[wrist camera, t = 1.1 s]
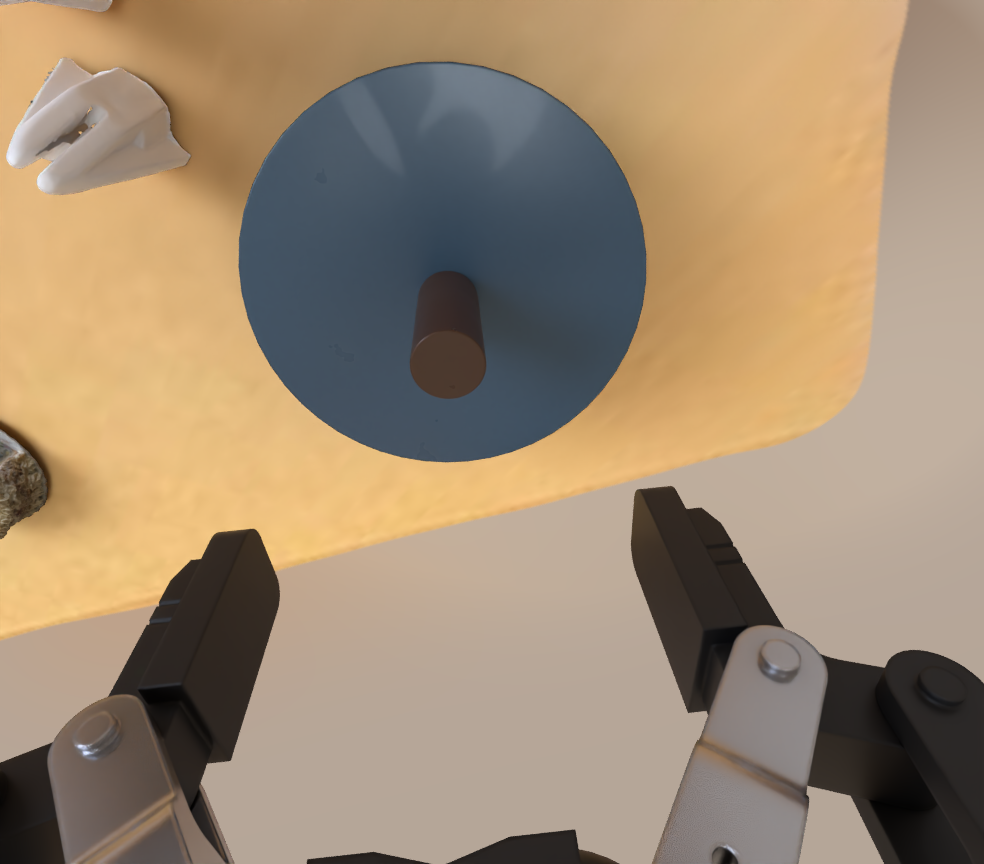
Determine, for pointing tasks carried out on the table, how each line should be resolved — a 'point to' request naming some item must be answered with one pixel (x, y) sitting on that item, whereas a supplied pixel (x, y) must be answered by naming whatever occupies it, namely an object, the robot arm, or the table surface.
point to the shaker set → (114, 139)
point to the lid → (442, 261)
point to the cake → (18, 483)
